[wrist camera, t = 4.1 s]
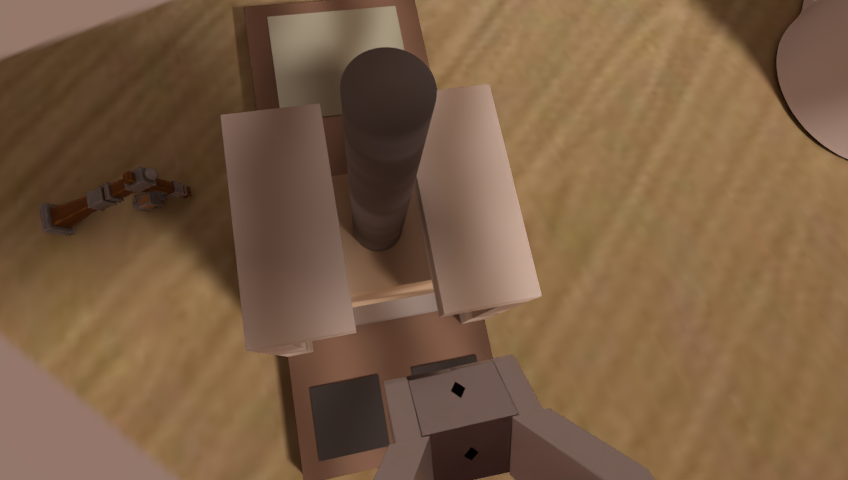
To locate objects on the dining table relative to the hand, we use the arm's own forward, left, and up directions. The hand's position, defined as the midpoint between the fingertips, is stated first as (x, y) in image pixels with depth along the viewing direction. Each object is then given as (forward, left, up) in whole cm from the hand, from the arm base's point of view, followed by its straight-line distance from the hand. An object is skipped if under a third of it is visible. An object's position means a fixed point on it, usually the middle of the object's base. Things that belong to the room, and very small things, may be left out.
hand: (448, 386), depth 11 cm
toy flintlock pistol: (+15, -14, -21) cm, 29 cm away
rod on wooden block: (0, -7, -18) cm, 20 cm away
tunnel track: (0, -11, -20) cm, 23 cm away
